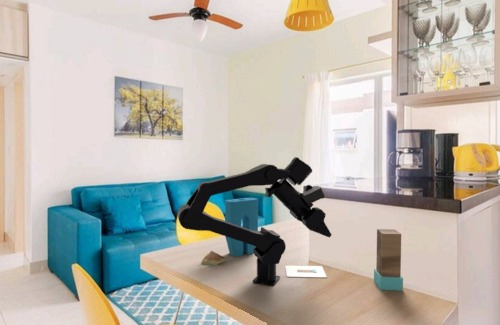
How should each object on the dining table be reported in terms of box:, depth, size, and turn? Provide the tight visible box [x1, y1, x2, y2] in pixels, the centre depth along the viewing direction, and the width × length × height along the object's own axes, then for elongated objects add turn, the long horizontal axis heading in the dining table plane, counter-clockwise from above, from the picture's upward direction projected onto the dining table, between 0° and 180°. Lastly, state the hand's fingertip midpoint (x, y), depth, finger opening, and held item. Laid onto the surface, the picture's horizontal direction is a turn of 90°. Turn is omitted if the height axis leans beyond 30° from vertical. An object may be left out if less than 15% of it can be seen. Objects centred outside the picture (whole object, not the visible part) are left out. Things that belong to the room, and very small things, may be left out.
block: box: [224, 197, 259, 257], centre depth 119 cm, size 12×5×20 cm, turn 122°
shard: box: [201, 250, 227, 266], centre depth 113 cm, size 11×8×2 cm
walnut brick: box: [375, 228, 402, 277], centre depth 90 cm, size 5×5×12 cm
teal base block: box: [373, 268, 404, 292], centre depth 91 cm, size 6×6×4 cm
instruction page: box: [284, 265, 328, 279], centre depth 101 cm, size 9×12×1 cm
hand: (324, 232), depth 97 cm, fingers open, 9 cm apart
